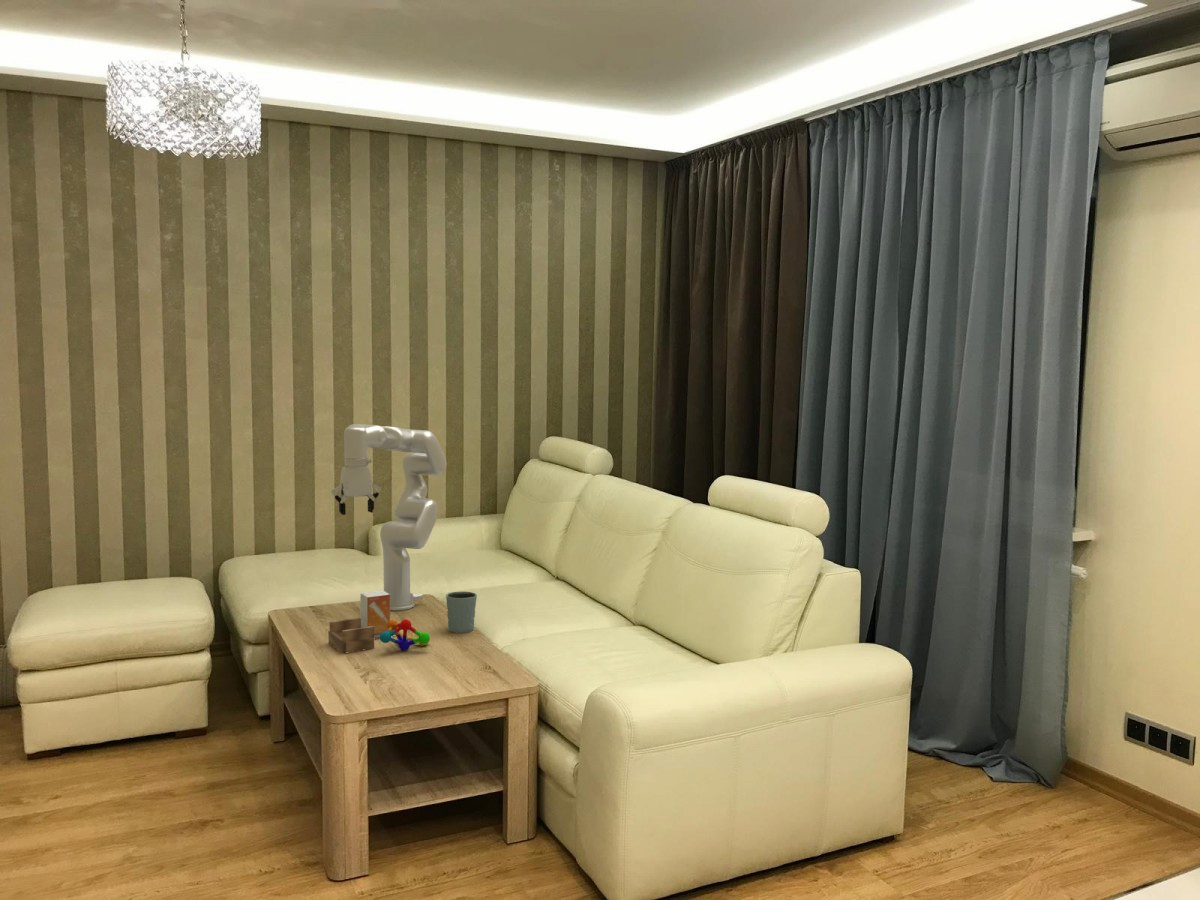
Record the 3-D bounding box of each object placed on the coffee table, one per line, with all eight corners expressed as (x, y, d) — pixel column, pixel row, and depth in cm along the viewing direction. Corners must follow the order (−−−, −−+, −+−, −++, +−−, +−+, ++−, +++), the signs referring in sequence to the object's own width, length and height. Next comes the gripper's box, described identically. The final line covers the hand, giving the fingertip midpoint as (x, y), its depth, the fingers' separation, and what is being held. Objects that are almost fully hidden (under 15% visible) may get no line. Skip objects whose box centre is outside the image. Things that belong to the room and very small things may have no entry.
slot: (359, 638, 334) (359, 617, 334) (374, 648, 324) (374, 626, 323) (328, 643, 329) (328, 621, 328) (342, 653, 318) (342, 631, 317)
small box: (367, 636, 335) (366, 597, 333) (360, 631, 340) (359, 593, 339) (390, 632, 339) (390, 594, 338) (383, 628, 345) (382, 590, 343)
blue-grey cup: (440, 630, 344) (440, 595, 343) (458, 623, 353) (457, 589, 352) (465, 635, 340) (465, 599, 338) (482, 627, 348) (482, 593, 347)
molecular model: (387, 654, 329) (377, 646, 315) (390, 624, 332) (380, 615, 318) (434, 655, 329) (426, 647, 315) (436, 625, 332) (429, 616, 318)
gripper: (376, 460, 354) (376, 509, 356) (327, 463, 345) (328, 513, 346) (384, 463, 348) (385, 512, 350) (334, 465, 338) (335, 517, 340)
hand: (356, 513), depth 348 cm, fingers open, 9 cm apart
